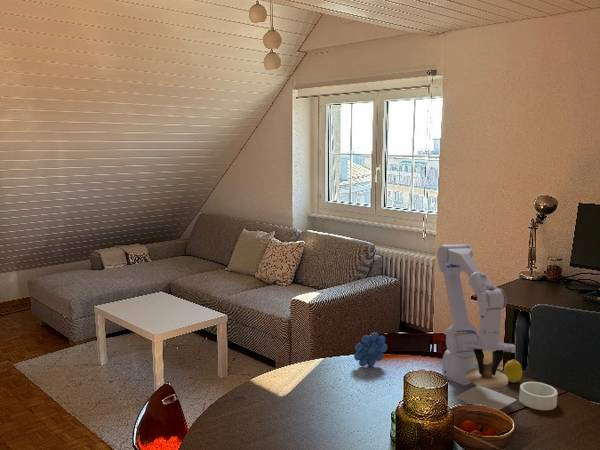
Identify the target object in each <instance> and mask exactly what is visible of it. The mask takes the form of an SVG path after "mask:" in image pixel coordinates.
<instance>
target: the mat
mask: <svg viewBox="0 0 600 450" xmlns="http://www.w3.org/2000/svg"><path fill="white" fill-rule="evenodd" d="M454 398H455V399H457V400H460V401H462V402H464V403H466V404H469V405H471V404H482V405H487V406H491V407H495V408H497V409H499V411H501V410H502V409H505V408H506V407H507V406H509V405H510V404H512V403H514V402H516V401H518V399H516V398H514V397H512V396H508V395H507V394H505V393H500V392H498V391H496V390H493V389H492V388H487V387H481V386H478V385H475V386H474V387H471V388H469V389H467V390H465V391H463V392H461V393H459V394H457V395H456V396H454Z"/></svg>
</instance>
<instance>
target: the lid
mask: <svg viewBox="0 0 600 450" xmlns="http://www.w3.org/2000/svg"><path fill="white" fill-rule="evenodd" d="M492 372H493V363H492V362H490V361H483V374H482V375H480V373H479V367H478V368H477V367H474V369H470V370H468V371H467V372H466V379H467V380H468V381H469V382H471V383H470V384H472V385H475V386H477V385H478V386H481V387H485V388H488V389H499V388H503V387H506V386H507V385H508V384H509V381H508V377H507V376H506V375H505V374H504V372H501V371H498V370H497V371H496V374H495V375H492Z"/></svg>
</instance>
